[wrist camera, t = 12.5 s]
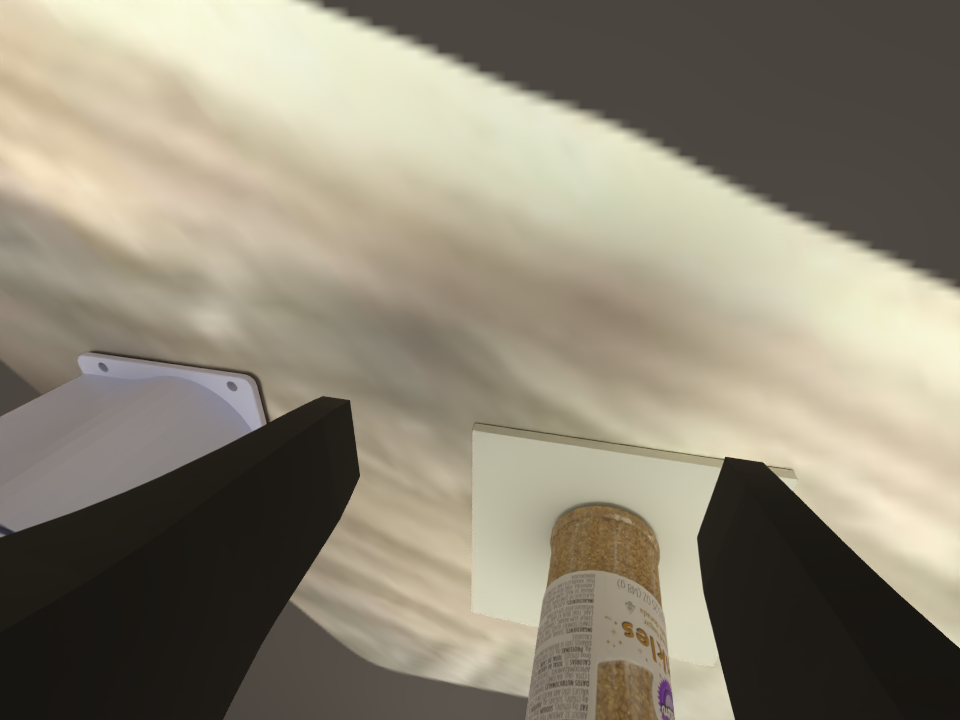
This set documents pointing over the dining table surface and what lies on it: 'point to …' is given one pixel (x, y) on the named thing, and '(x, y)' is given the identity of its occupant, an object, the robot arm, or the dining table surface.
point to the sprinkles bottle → (601, 623)
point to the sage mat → (582, 483)
